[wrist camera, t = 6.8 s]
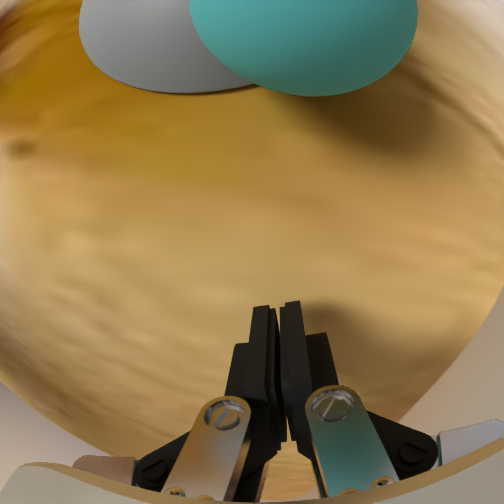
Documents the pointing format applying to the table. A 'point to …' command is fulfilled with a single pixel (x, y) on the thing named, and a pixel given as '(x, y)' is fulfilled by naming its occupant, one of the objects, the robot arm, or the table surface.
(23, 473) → the robot arm
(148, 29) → the pin spot
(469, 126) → the table surface
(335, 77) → the ball
